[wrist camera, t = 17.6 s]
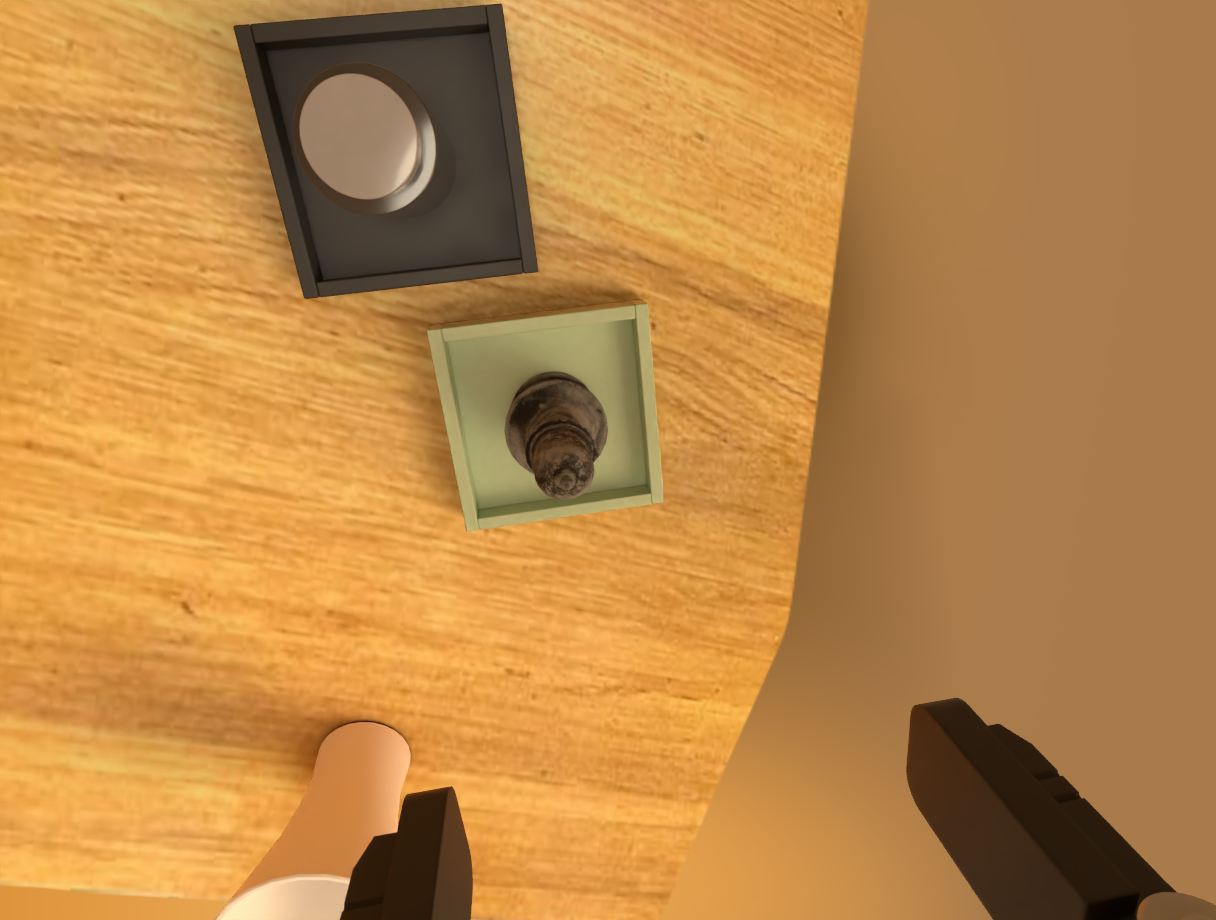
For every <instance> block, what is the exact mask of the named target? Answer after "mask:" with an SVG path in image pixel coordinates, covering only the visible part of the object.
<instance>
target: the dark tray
mask: <svg viewBox="0 0 1216 920" xmlns="http://www.w3.org/2000/svg"><path fill="white" fill-rule="evenodd" d="M234 31H235V35H236V39H237V43H238V47H239V50H240V54H241V58H242V62H243V66H244V70H245V73H246V77H247V81H248V85H249V89H250V93H251V96H252V100H253V104H254V108H255V112H256V116H257V119H258V123H259V127H260V131H261V135H262V139H263V142H264V146H265V150H266V154H267V158H268V162H269V165H270V169H271V173H272V177H273V181H274V184H275V188H276V192H277V196H278V200H279V204H280V207H281V211H282V215H283V219H284V223H285V227H286V230H287V234H288V238H289V242H290V246H291V250H292V253H293V257H294V261H295V265H296V269H297V273H298V276H299V280H300V284H301V288H302V292H303V296H304V298H305V299H310V298H318V297H327V296H335V295H344V294H352V293H361V292H370V291H378V290H387V289H395V288H404V287H413V286H421V285H430V284H438V283H447V282H455V281H464V280H473V279H481V278H490V277H498V276H507V275H516V274H522V273H523V272H524V273H533V272H538V266H537V259H536V252H535V244H534V237H533V230H532V222H531V215H530V207H529V200H528V193H527V185H526V178H525V170H524V163H523V156H522V148H521V141H520V134H519V126H518V119H517V111H516V104H515V97H514V89H513V82H512V74H511V67H510V60H509V52H508V45H507V38H506V30H505V23H504V15H503V8H502V4H492V5H486V7H485V5H480V6H468V7H455V8H443V9H431V10H418V11H406V12H393V13H381V14H369V15H356V16H344V17H332V18H319V19H307V20H295V21H282V22H270V23H257V24H251V25H249V24H247V25H235V26H234ZM349 62H361V63H369V64H373V65H376V66H380V67H382V68H384V69H387V70H389V71H391V72H392V73H394V74H396V75H398V76H399V77H400V78H402V79H403V80H404V81H405V82H407V83H408V84H409V85H410V86H411V87H412V88H413V89H414V90H415V92H416V93H417V94H418V95H419V96H420V98H421V99H422V100H423V102H424V103H425V104H426V105H427V107H428V108H429V109H430V111H431V112H432V113H433V114H434V116H435V117H436V118H437V120H438V121H439V122H440V123H441V125H442V126H443V127H444V129H445V130H446V132H447V134H448V135H449V137H450V139H451V142H452V144H453V147H454V151H455V155H456V177H455V181H454V185H453V187H452V189H451V192H450V193H449V195H448V197H447V198H446V199H445V201H444V202H443V203H442V204H441V205H440V206H439V207H438V208H436V209H435V210H433V211H431V212H429V213H427V214H425V215H422V216H418V217H408V218H405V217H385V216H369V215H362V214H357V213H354V212H351V211H348V210H345V209H344V208H342V207H340V206H338V205H336V204H335V203H333V202H332V201H330V200H329V199H327V198H326V197H325V196H324V195H323V194H322V193H320V191H319V190H318V189H317V188H316V187H315V186H314V185H313V184H312V182H311V181H310V180H309V178H308V177H307V175H306V173H305V172H304V170H303V168H302V166H301V164H300V161H299V159H298V156H297V153H296V150H295V145H294V140H293V118H294V113H295V108H296V105H297V103H298V100H299V98H300V96H301V94H302V92H303V90H304V89H305V88H306V86H307V85H308V84H309V82H310V81H311V80H312V79H313V78H314V77H316V76H317V75H318V74H320V73H321V72H322V71H324V70H326V69H328V68H330V67H333V66H336V65H339V64H343V63H349Z"/></svg>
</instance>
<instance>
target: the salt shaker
mask: <svg viewBox="0 0 1216 920" xmlns="http://www.w3.org/2000/svg"><path fill="white" fill-rule="evenodd" d="M504 432H505V438H506V444H507V446H508V448H509V450H510V453H511V455H512V456H513V457H514V459H515V460H516V461H517V462H518V463H519V465H520V466H522V467H523V468H525V469H526V470H528V471H529V472H530V473H533V474H534V476H535V480H536V483H537V485H538V486H539V488H540V489H541V490H542V491H543V492H544V493H545V494H546V495H548V496H549V497H552V498H555V499H558V500H569V499H573V498H576V497H579V496H580V495H582V494H583V493H584V492H586V490H587V489H588V488H589V487H590V485H591V483H592V481H593V477H594V464H593V463H594V462H595V461H596V459H597V458H598V457H599V456H600V455H601V452H602V450H603V448H604V446H605V444H606V440H607V434H608V425H607V417H606V414H605V412H604V409H603V407H602V405H601V403H600V402H599V401H598V399H597V398H596V397H595V395H594V394H593V393H591V392H590V391H589V390H588V388H587V387H586V386H585V384H584V383H582V382H581V381H580V380H578V379H577V378H576V377H573V376H571V375H569V374H566V373H561V372H546V373H541V374H539V375H536V376H534V377H531V378H530V379H529V380H527V381H526V382H525V383H523V384H522V386H521V387H520V388H519V390H518V391H517V392H516V394H515V396H514V399H513V401H512V405H511V406H510V409H509V411H508V414H507V416H506V421H505V430H504Z"/></svg>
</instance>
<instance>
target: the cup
mask: <svg viewBox="0 0 1216 920" xmlns="http://www.w3.org/2000/svg"><path fill="white" fill-rule="evenodd" d="M410 757H411V754H410V750H409V746H408V744H407V743H406V741H405V740H404V738H403V737H402V736H401V735H400V734H398V733H397V732H396V731H395V730H393V729H391V728H389V727H387V726H385V725H381V724H377V723H373V722H358V723H352V724H347V725H345V726H342V727H340V728H337V729H336V730H335V731H333V732H332V733H330V734H329V735H328V736H327V737H326V738H325V740H324V741H323V742H322V744H321V746H320V749H319V752H318V756H317V760H316V764H315V768H314V772H313V776H312V779H311V782H310V784H309V786H308V788H307V790H306V793H305V795H304V797H303V799H302V801H301V803H300V805H299V807H298V808H297V810H296V812H295V813H294V815H293V817H292V818H291V820H290V822H289V823H288V825H287V827H286V828H285V830H284V831H283V833H282V835H281V836H280V837H279V839H278V840H277V841H276V843H275V844H274V845H273V846H272V848H271V849H270V850H269V852H268V853H267V854H266V855H265V857H264V858H263V859H262V860H261V862H260V863H259V864H258V866H257V867H256V868H255V869H254V871H253V872H252V873H251V875H250V876H249V877H248V878H247V880H246V881H245V882H244V883H243V885H242V886H241V887H240V888H239V889H238V891H237V892H236V893H235V894H234V896H233V897H232V898H231V899H230V901H229V902H228V903H227V904H226V905H225V907H224V908H223V909H222V910H221V912H220V913H219V914H218V915H217V916H216V918H215V919H214V920H340V917H341V913H342V911H344V902H345V898H346V894H347V890H348V886H349V883H350V879H351V875H352V871H353V868H354V867H355V865H356V864H357V862H358V860H359V859H360V857H361V856H362V854H363V853H364V851H365V850H366V848H367V847H368V845H369V843H370V842H371V840H372V839H373V837H374V836H379V835H384V834H390V833H395V832H397V830H398V810H399V802H400V794H401V789H402V786H403V783H404V780H405V777H406V774H407V771H408V768H409V765H410Z"/></svg>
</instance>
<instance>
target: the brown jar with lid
mask: <svg viewBox="0 0 1216 920" xmlns="http://www.w3.org/2000/svg"><path fill="white" fill-rule="evenodd" d="M293 140H294V145H295V150H296V153H297V156H298V159H299V161H300V164H301V166H302V168H303V170H304V172H305V173H306V175H307V177H308V178H309V180H310V181H311V182H312V184H313V185H314V186H315V187H316V188H317V189H318V190H319V191H320V193H322V194H323V195H324V196H325V197H326V198H327V199H329V200H330V201H332V202H333V203H335V204H336V205H338V206H340V207H342V208H344V209H345V210H348V211H351V212H354V213H357V214H362V215H369V216H385V217H405V218H408V217H418V216H422V215H425V214H427V213H429V212H431V211H433V210H435V209H436V208H438V207H439V206H440V205H441V204H442V203H443V202H444V201H445V199H446V198H447V197H448V195H449V193H450V192H451V189H452V187H453V185H454V181H455V177H456V155H455V151H454V147H453V144H452V142H451V139H450V137H449V135H448V134H447V132H446V130H445V129H444V127H443V126H442V125H441V123H440V122H439V121H438V120H437V118H436V117H435V116H434V114H433V113H432V112H431V111H430V109H429V108H428V107H427V105H426V104H425V103H424V102H423V100H422V99H421V98H420V96H419V95H418V94H417V93H416V92H415V90H414V89H413V88H412V87H411V86H410V85H409V84H408V83H407V82H405V81H404V80H403V79H402V78H400V77H399V76H398V75H396V74H394V73H392V72H391V71H389V70H387V69H384V68H382V67H380V66H376V65H373V64H369V63H361V62H349V63H343V64H339V65H336V66H333V67H330V68H328V69H326V70H324V71H322V72H321V73H320V74H318V75H317V76H316V77H314V78H313V79H312V80H311V81H310V82H309V84H308V85H307V86H306V88H305V89H304V90H303V92H302V94H301V96H300V98H299V100H298V103H297V105H296V108H295V113H294V118H293Z"/></svg>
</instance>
